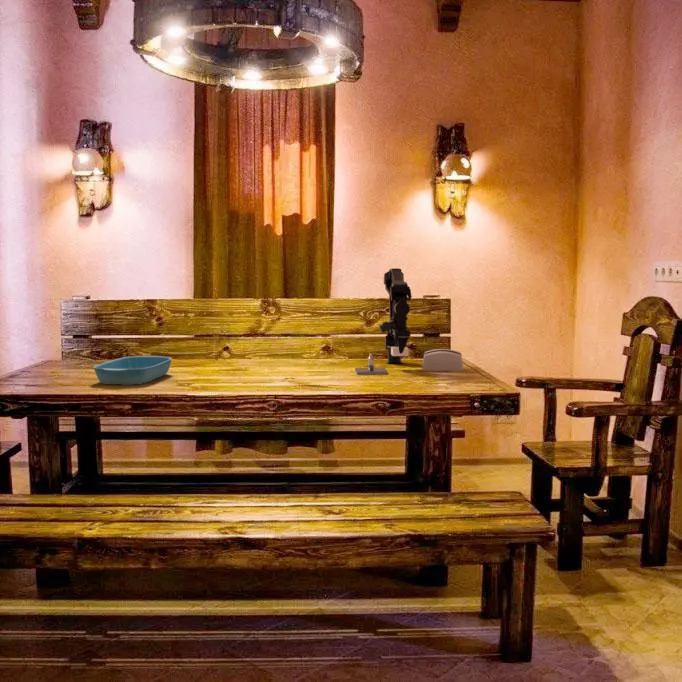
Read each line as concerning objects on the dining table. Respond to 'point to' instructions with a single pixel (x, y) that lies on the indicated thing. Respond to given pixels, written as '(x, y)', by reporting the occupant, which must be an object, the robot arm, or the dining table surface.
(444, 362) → the napkin holder
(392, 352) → the collar
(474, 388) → the dining table surface
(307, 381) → the dining table surface
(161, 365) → the casserole dish
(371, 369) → the grey base with post
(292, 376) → the dining table surface
